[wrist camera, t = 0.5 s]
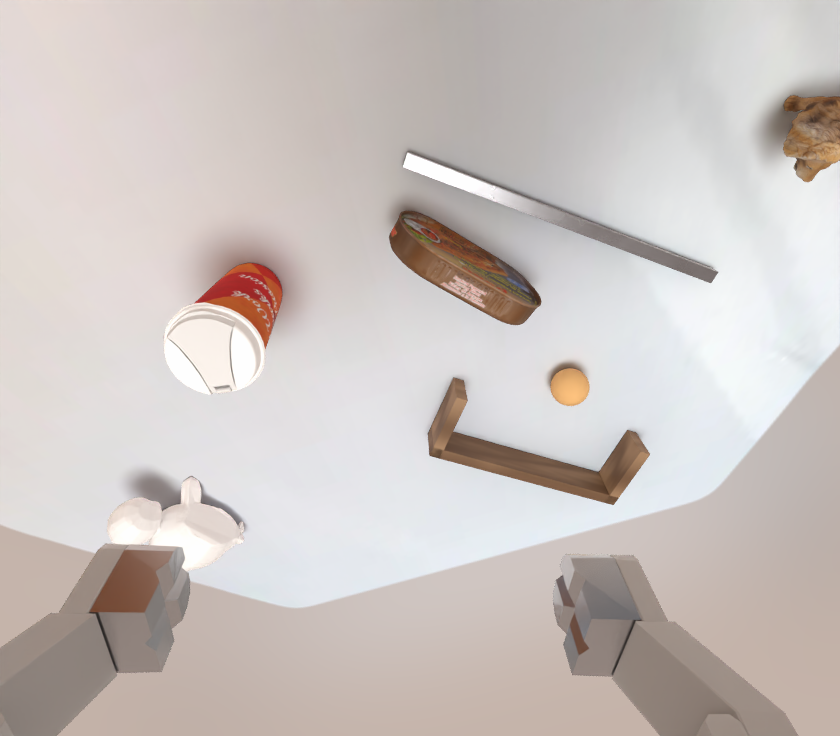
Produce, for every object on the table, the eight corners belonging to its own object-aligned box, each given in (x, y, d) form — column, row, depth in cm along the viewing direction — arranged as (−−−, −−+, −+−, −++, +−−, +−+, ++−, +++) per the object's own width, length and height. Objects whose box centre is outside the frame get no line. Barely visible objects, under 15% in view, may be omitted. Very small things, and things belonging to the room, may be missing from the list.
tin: (533, 279, 53) (554, 314, 46) (514, 304, 54) (531, 342, 47) (402, 199, 49) (402, 223, 42) (385, 229, 50) (382, 257, 43)
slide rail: (407, 151, 47) (407, 153, 46) (712, 268, 53) (718, 272, 52) (403, 164, 47) (403, 167, 46) (704, 278, 54) (711, 283, 53)
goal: (453, 377, 58) (456, 397, 55) (636, 432, 63) (650, 454, 59) (427, 433, 62) (429, 455, 59) (602, 482, 67) (613, 505, 63)
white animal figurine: (249, 494, 70) (141, 459, 59) (253, 555, 64) (134, 527, 54) (206, 526, 72) (95, 497, 62) (207, 587, 67) (85, 566, 56)
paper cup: (302, 319, 54) (274, 392, 42) (229, 330, 55) (180, 406, 43) (280, 244, 50) (242, 301, 38) (201, 257, 51) (139, 318, 39)
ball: (556, 357, 57) (567, 376, 54) (589, 367, 58) (601, 387, 55) (540, 387, 59) (549, 407, 56) (572, 396, 60) (582, 417, 57)
